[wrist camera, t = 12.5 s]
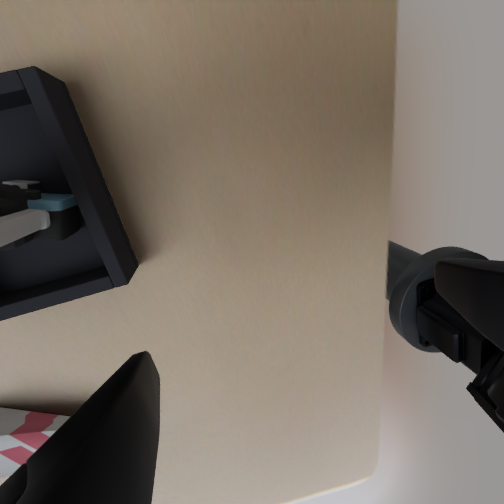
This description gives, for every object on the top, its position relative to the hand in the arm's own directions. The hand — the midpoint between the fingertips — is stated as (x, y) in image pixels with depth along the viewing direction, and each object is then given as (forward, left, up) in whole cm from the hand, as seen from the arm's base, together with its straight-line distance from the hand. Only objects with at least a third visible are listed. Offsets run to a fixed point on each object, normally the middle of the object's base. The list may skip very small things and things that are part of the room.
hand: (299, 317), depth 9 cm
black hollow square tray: (+12, -5, -12) cm, 18 cm away
